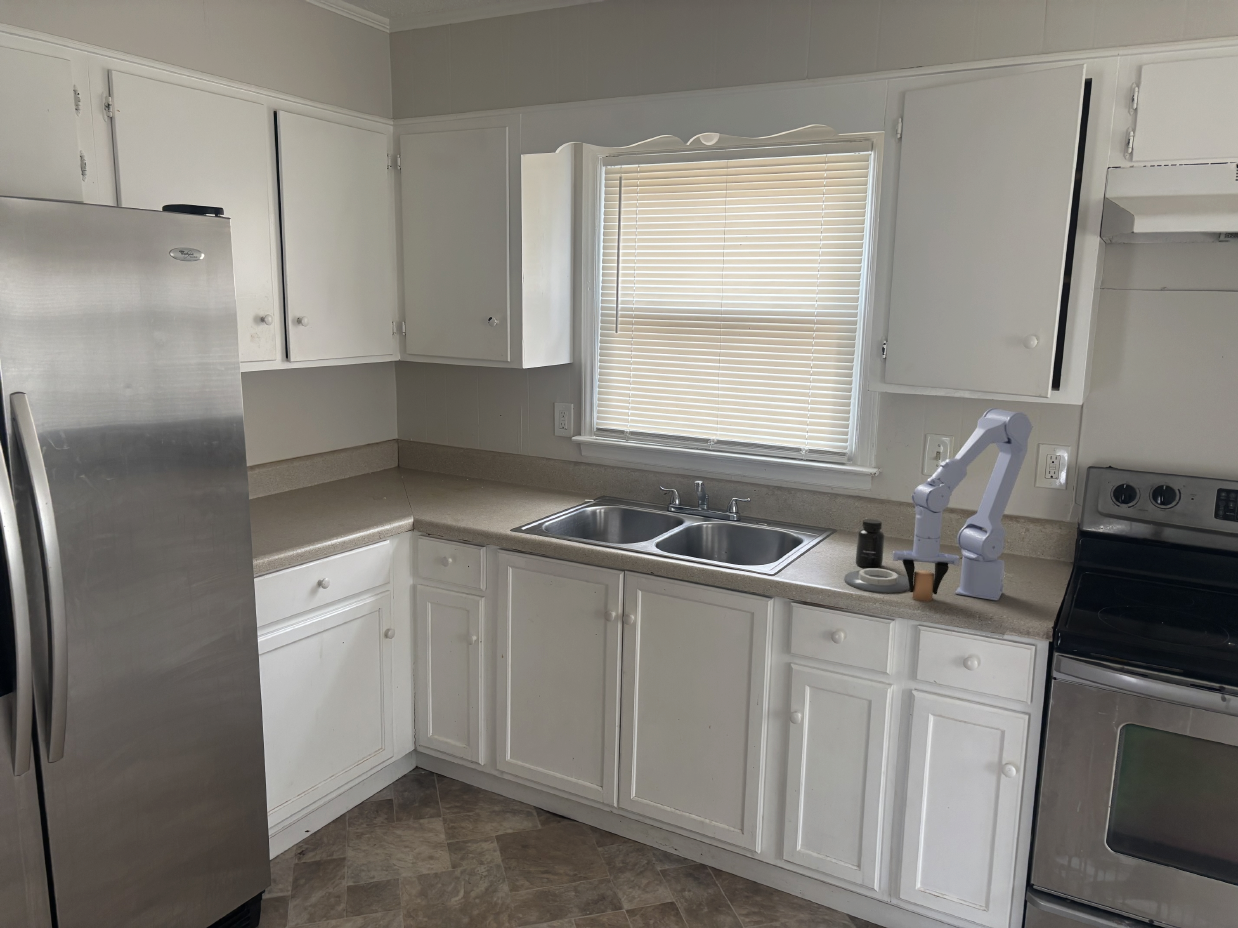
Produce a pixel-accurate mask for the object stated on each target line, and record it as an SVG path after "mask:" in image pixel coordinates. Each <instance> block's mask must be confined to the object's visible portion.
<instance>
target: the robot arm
mask: <svg viewBox="0 0 1238 928" xmlns="http://www.w3.org/2000/svg"><path fill="white" fill-rule="evenodd" d="M976 426H977V427H976V428H975V430H974V431H973V433H972V434H971V435H970V437H969V438H968V439H967V441H966V442H965V443H964V444H963V446H962V447H961V449H960V450H959V452H957V454H956V455H955V456H954V458H946V459H945V460H944V461H943V460H942V461H941V463H939V467H938V469H936V471H935V472H934V473H933V474H932V475H931V476H930V477H929V478H928V479H927V480H926V482H924V483H922V484H921V483H920V485H918V486H917V487H915V489H914V492H913V494H911V501H912V503H913V504H914V512H915V522H914V523H915V525H914V533H913V534H914V535H913V549H912V550H893V551H892V561H893V562H898V561H902V564H903V567H904V570H905V572H906V577H907V578H908V581H909V590H908V592H909V593H913V585H914V572H915V571H916V570H915V567H916V566H915V562H917V563H929V564H930V563H932V564H934V585H933V595H937V594H938V591H939V588H940V585H941V582H942V581H943V578H944V576H946V574H947V573H948V570H949V568H950V567H949V565H954V566H959V565H960V557H959V555H957V554H951V553H950V554H948V553H943V552H940V547H941V546H940V545H941V533H942V520H943V510H945V509H946V508H948V506H949V503H950V498H951V496H952V493H953V492H954V491H955V489H956V488H957V487H958V486H959V485H960V484H961V482H962V481H963V480H964V479H965V478H966V477H967V475H968V470H967V468H968V467H969V466H970V464H971V463H973V462H974V461H975V460H976V458H977V457H979V456H980V455H981V454H982V453H983V451H985V450H986V449H987V448H988V447H989V446H991V444H996V446H997V448H998V450H999V453H998V456H997V459H996V462H995V464H994V468H993V470H992V472H991V476H990V478H989V481H988V483H987V485H986V489H985V491H984V493H983V495H982V496H983V497H982V499H981V502H980V505H979V507H978V510H977V512H976V513H975V514H973V515H972V516H970V517H968V518H967V519H966V521H965V524H963V527H962V528H961V529H960V530H959V531H958V533H957V536H956V542H957V546H958V547H959V548H960V549H961V551H960V554H962V559H961V561H962V562H961V569H960V570H961V571H960V582H959V586H958V587H957V589H956V590H955V594H957V595H961V596H966V597H974V598H981V599H984V600H985V599H986V600H991V601H999V599H1000V598H1001V596H1002V594H1003V591H1004V577H1005V568H1006V567H1005V566H1006V564H1005V563H1006V562H1005V561H1004V560H1003V559H998V558H999V557H1000V556H1001V555H1002V553H1003V551H1004V548H1005V541H1004V540H1005V537H1006V535H1007V533H1006V529H1005V528H1004V526H1003V524H1002V519H1003V517H1004V513H1005V511H1006V509H1007V506H1008V503H1009V500H1010V498H1011V494H1012V492H1013V489H1014V487H1015V484H1016V482H1017V479H1018V478H1019V477H1018V476H1019V474H1020V471H1021V469H1022V466H1023V464H1024V460H1025V459H1026V457H1027V456H1026V455H1027V453H1028V443H1029V439H1030V436H1031V433H1032V430H1033V424H1032V422H1031V420H1030V418H1029V416H1028V415H1027V414H1026V413H1024V412H1022V411H1021V412H1020V411H1018V412H1016V411H1010V410H1006V409H1005V410H1004V409H1000V408H997V407H991V408H988V409H987V410H986V411H985V412H984V413H983V414H982V416H981V417H980V418H979V419H978V420H977V425H976ZM984 529H985V530H984Z"/></svg>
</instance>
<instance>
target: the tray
mask: <svg viewBox="0 0 1238 928" xmlns="http://www.w3.org/2000/svg"><path fill="white" fill-rule="evenodd" d="M843 580H844V582H845V583H846V585H848V586H850V587H852V588H855V589H857V590H862V591H865V592H871V593H879V594H880V593H882V594H896V593H897V594H898V593H903V592H907V591H909V581H908V576H904V575H901V574H898V573H896V572H895V571H892V570H889V569H883V568H864V569H863V568H862V569H860V570H854V571H850V572H847V573H845V575H844V579H843Z"/></svg>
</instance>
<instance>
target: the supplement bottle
mask: <svg viewBox="0 0 1238 928" xmlns="http://www.w3.org/2000/svg"><path fill="white" fill-rule="evenodd" d="M882 525H883V524H882V521H881V520H878V519H873V518H865V519H863V520H862V526H861V528H862V529H860V530H859V531H858V533H857V537H856V538H857V540H856V541H857V542H856V553H855V564H856V565H857V566H858V567H861V568H864V569H868V568H877V569H881V567H882V566H883V558H884V550H885V549H884V548H885V537H886V535H885V534H884V532H883V531H882V530H883V529H882Z"/></svg>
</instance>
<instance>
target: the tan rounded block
mask: <svg viewBox="0 0 1238 928" xmlns="http://www.w3.org/2000/svg"><path fill="white" fill-rule="evenodd" d="M934 576H935V572H931V571H928V570H914V578H913V592H912V598H913V599H914V600H916V601H921V602H930V601H932V600H933V596H934V594H933V585H934Z"/></svg>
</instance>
